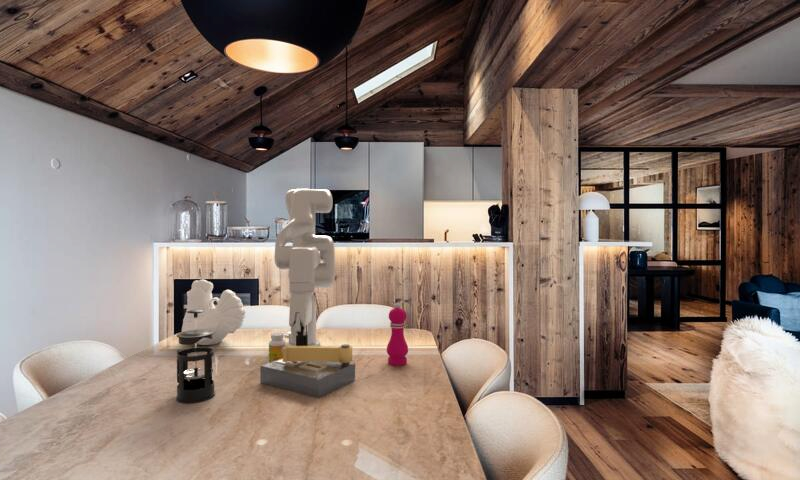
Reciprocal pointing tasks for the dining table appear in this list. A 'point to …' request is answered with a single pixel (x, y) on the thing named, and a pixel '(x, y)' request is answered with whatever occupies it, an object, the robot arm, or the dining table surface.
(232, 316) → the decorative rooster
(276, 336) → the supplement bottle
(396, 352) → the pepper mill
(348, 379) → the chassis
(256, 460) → the dining table surface
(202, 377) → the french press
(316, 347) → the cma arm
